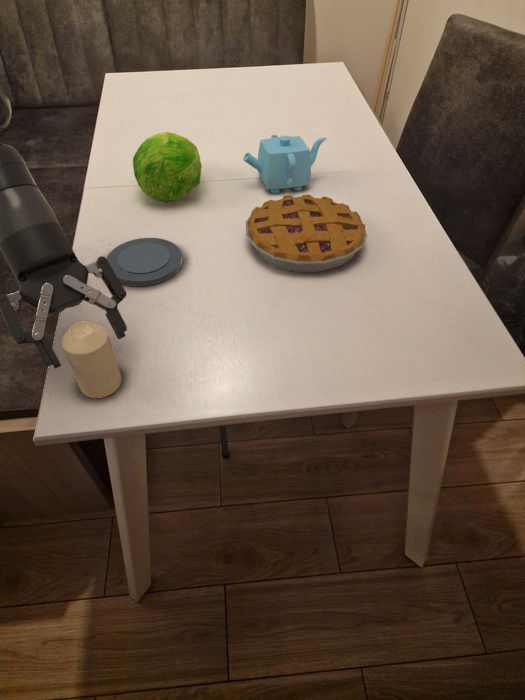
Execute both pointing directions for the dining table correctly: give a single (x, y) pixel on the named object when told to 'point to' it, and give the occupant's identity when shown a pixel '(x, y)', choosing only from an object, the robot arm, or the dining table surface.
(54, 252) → the robot arm
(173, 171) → the lettuce
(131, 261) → the saucer
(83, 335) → the candle
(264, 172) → the teapot
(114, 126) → the dining table surface
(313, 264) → the pie
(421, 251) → the dining table surface
